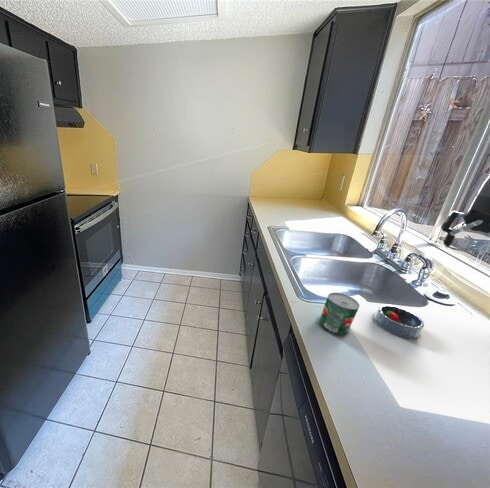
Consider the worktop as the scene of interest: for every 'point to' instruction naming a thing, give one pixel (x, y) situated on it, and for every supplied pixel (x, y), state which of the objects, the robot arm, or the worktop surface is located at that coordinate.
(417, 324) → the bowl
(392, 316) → the strawberry
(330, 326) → the canned tomato
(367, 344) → the worktop surface
